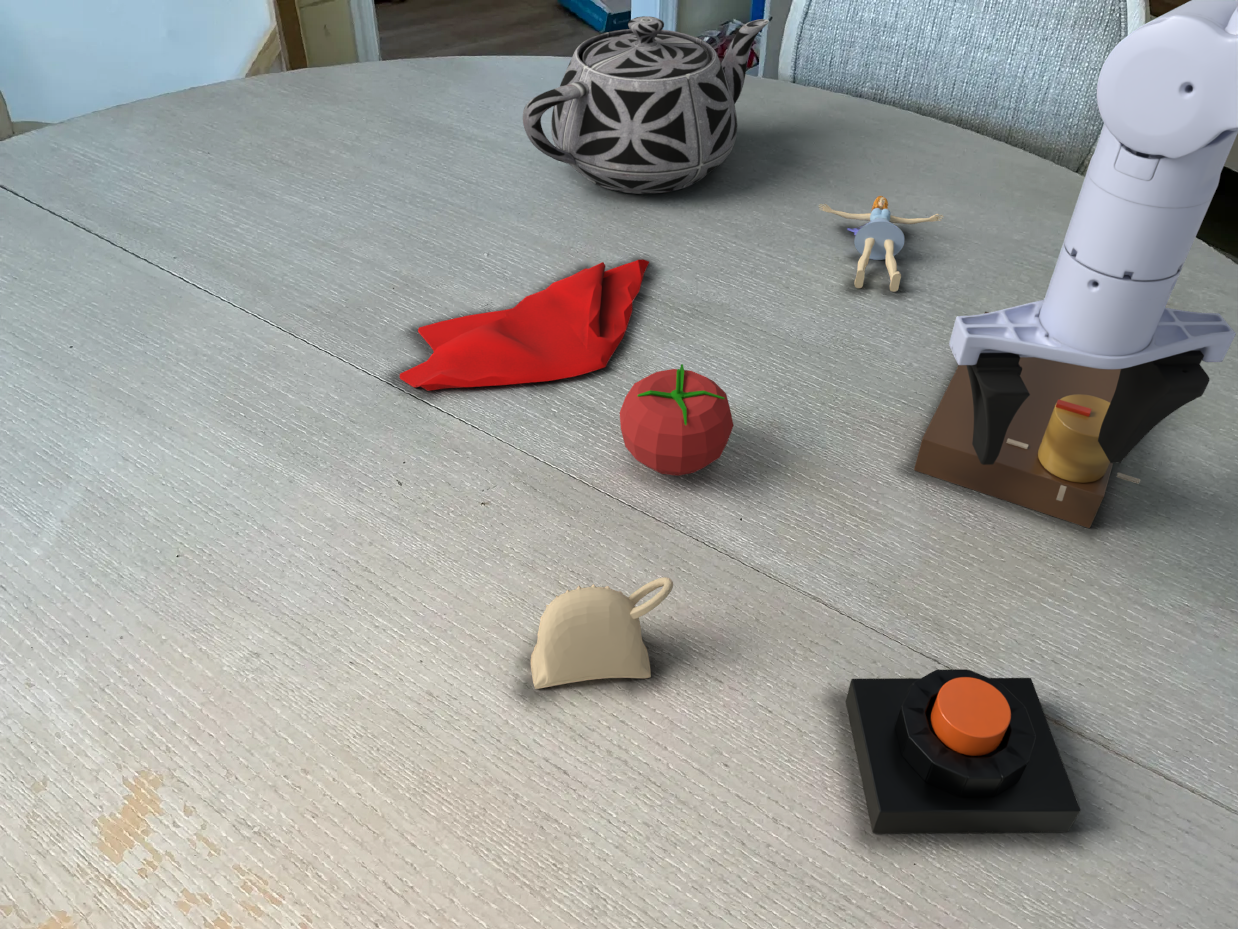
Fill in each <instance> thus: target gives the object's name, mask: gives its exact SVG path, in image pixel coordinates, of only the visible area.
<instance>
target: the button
mask: <svg viewBox="0 0 1238 929" xmlns="http://www.w3.org/2000/svg"><path fill="white" fill-rule="evenodd" d="M1010 720H1011V711H1010V707H1009V704H1008V702H1007V700H1006V698H1005V697H1004V696H1003V695H1002V693H1001V692H1000V691H999V690H997V689H996V688H995V687H994V686H992V685H990V684H989V683H987V682H985V681H982V680H980V679H976V678H971V677H960V678H955V679H952V680H950V681H948V682H947V683H945V684H944V685H943V686H942V687H941V689H940V691H939V693H938V695H937V698H936V701H935V704H934V706H933V709H932V712H931V724H932V727H933V730H934V732H935V734H936V735H937V737H938V738H939V739H940V740H941V741H942V742H943V743H944V744H945V745H946V746H947V747H949V748H950V749H952V750H954V751H956V752H958V753H961V754H965V755H970V756H981V755H985V754H988V753H990V752H992V751H994V750H995V749H996V748H997V747H998V746H999V745H1000V743H1001V741H1002V739H1003V736H1004V734H1005V732H1006V730H1007V728H1008V726H1009V723H1010Z"/></svg>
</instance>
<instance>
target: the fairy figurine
mask: <svg viewBox="0 0 1238 929" xmlns="http://www.w3.org/2000/svg"><path fill="white" fill-rule="evenodd" d="M818 208H819V211H823V212H826V213H829V214H834V215H836V216H839V217H842V218H843V219H847V220H855V221H863V222H864V221H866V223H864V224H862V225H861V226H858V227H855V228H848V227H846V230H847V231H849V232H852V233H853V235H854V239H853V240H854V241H853V244H854V247H855V249H856V251H857V253H859V254H860V255H861V256H860V258H859V259H858V261H857V268H856V269H857V271H856V276H855V279H854V287H855V288H856V289H862V288H863V286H864V281H865V275H866V268H867V266H868V265H869V260H874V261H881V260H882V261H883V260H885V267H886V269H887V273H888V274H889V275H888V276H889V279H890V283H889V291H890V292H894V293H895V292H897V291H898V290H899V286H900V282H901V278H902V274H901V272H900V271H898V264H897V261H896V259H895V256H896V255H897V254H899V253H900V252H901V250H902V249H903V248H904V245H905V240H906V239H905V235H904V232H903V231H902V230H901V228H900V227H899V226H897V225H895V224H898V225H900V224H901V225H902V224H904V225H915V224H920V223H921V224H922V223H928V222H929V223H935V222H942V220H943V219H944V217H945V216H944V215H943V214H940V213H935V214H934V215H931V216H930V217H925V218H922V217H919V218H917V217H916V218H904V217H898V216H895V215H892V214H891V213H892V212H891V210H890V209H889V201H888V199H887V198H886V197H884V196H883V195H878V196H877V197H876V198H875V199H874V201H873V204H872V205H871V212H867V213H850V212H845V211H841V210H836V209H832V208H831V207H830V206H829V205H828V204H826V203H823V204H822V203H820V204H818ZM867 221H868V222H867Z"/></svg>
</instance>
